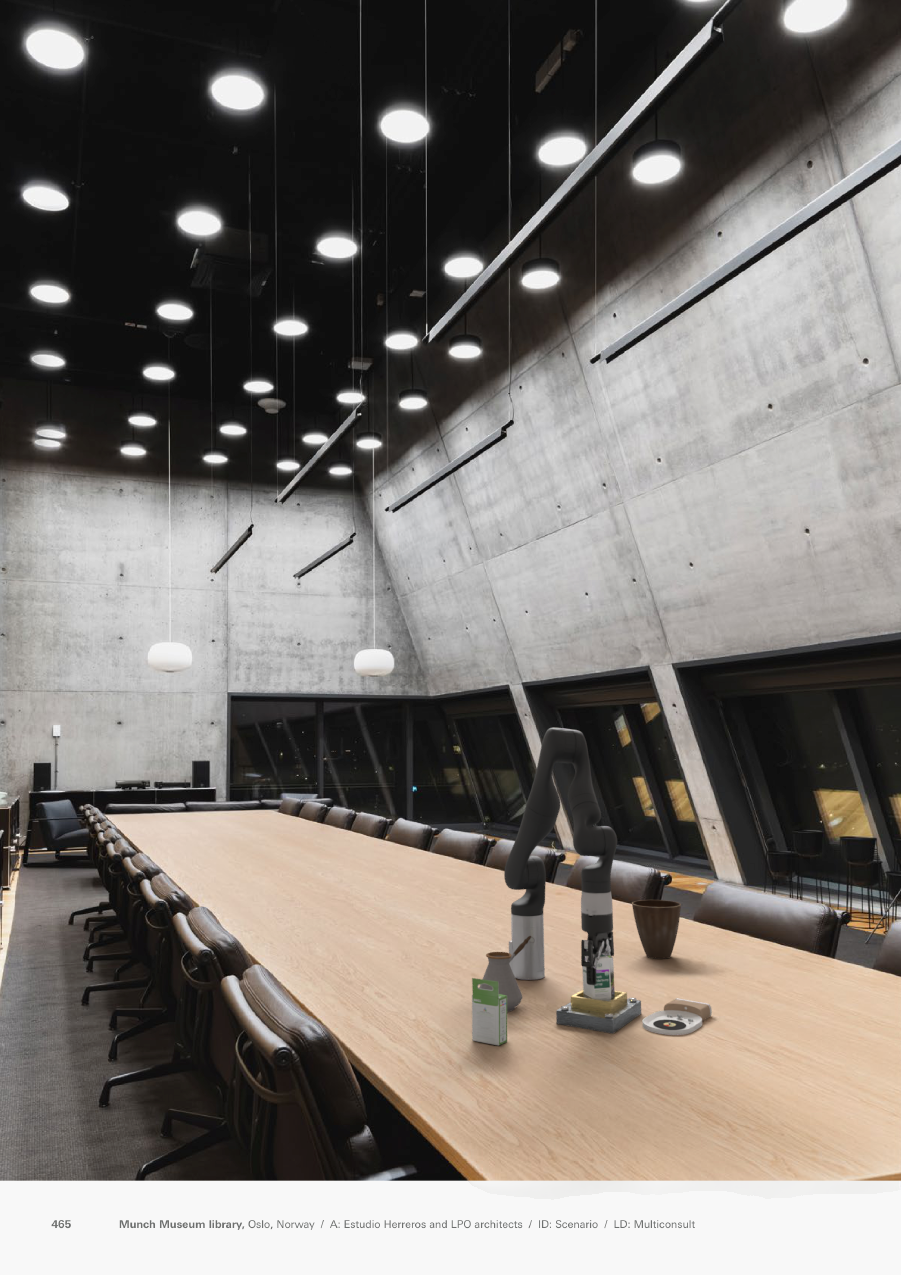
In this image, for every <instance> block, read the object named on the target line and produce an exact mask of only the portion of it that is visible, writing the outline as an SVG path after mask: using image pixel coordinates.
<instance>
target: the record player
mask: <svg viewBox="0 0 901 1275" xmlns="http://www.w3.org/2000/svg"><path fill="white" fill-rule="evenodd" d="M712 1010H713V1009H712V1006H711V1004H709V1003H707V1002H701V1001H695V1000H691V999H684V998H683V999H682V998H678V997H677V998H674V999H673V1000H671V1001H669V1002H668V1003H666V1004H664V1006H663V1010H659V1011H655V1012H653V1013H651V1014H649V1015H647V1016H646V1017H644V1018H643V1019H642V1028H643V1029H644V1030H646V1031H649V1032H651V1033H653V1034H654V1033H655V1034H659V1035H666V1036H667V1035H668V1036H680V1035H681V1036H683V1035H684V1036H685V1035H688V1034H691V1033H693V1032H695V1031H697V1030H698V1029H700V1028H701V1027H702V1026H703V1022H704V1021H705V1020H707V1019H708V1018H710V1017H711V1016H712V1012H713V1011H712Z"/></svg>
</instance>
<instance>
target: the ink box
mask: <svg viewBox="0 0 901 1275" xmlns="http://www.w3.org/2000/svg"><path fill="white" fill-rule="evenodd" d="M480 984H487V985H490V986H492V987H493V990H487V989H480V988H479V986H480ZM471 985H472V986H471V988H472V995H471V1014H472V1015H471V1020H472V1021H471V1022H472V1023H471V1028H472V1029H471V1036H472V1037H471V1038H472V1039H471V1040H472V1041H474V1042H479V1043H484V1044H489V1045H493V1046H494V1045H495V1046H501V1045H503V1044H506V1043H507V1042H508V1012H507V995H501V994H499V982H498V981H491V980H483V978H475V977H472V978H471Z"/></svg>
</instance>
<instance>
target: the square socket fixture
mask: <svg viewBox="0 0 901 1275" xmlns="http://www.w3.org/2000/svg"><path fill="white" fill-rule="evenodd" d="M614 991H615V998H613V999H612V1000H610V1001H604V1000H597V999H591V998H584V995H583V989H581V990H580V991H578V992H575V993H574V994H573V995H570V1002H568V1003H567V1004H565V1005H563V1006H560V1008H558V1009H556V1010H555V1013H556V1014H555V1015H556V1025H561V1026H566V1027H571V1028H572V1027H574V1028H579V1029H584V1030H589V1031H590V1030H591V1031H597V1032H600V1033H602V1032H603V1033H608V1034H613V1035H614V1034H615V1033H616V1032H618V1031H619V1030H620V1029H622V1028H623V1027H624V1026H626V1025H627V1024H629V1023H630V1022H631V1021H633V1020H635V1019H637V1017H639V1016H640V1015H641V1014H642V1001H641V1000H639V999H637V998H636V997H629V998H628V992H626V991H619V990H614Z"/></svg>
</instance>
